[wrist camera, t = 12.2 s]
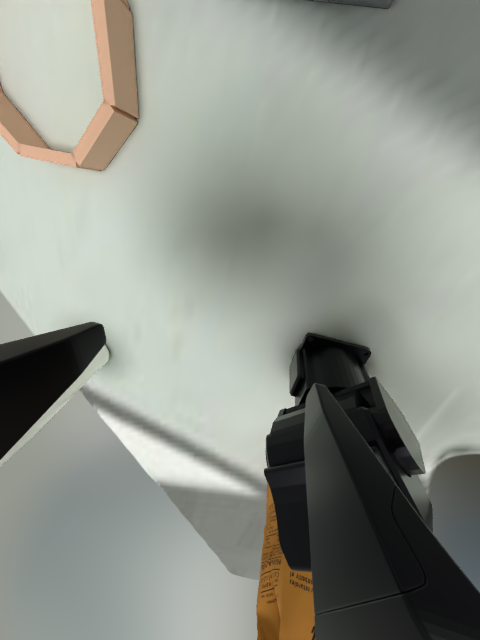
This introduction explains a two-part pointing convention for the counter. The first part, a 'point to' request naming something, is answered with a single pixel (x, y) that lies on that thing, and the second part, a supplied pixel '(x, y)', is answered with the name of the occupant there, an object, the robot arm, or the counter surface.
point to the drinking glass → (60, 402)
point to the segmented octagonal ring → (114, 111)
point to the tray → (363, 2)
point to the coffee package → (282, 590)
